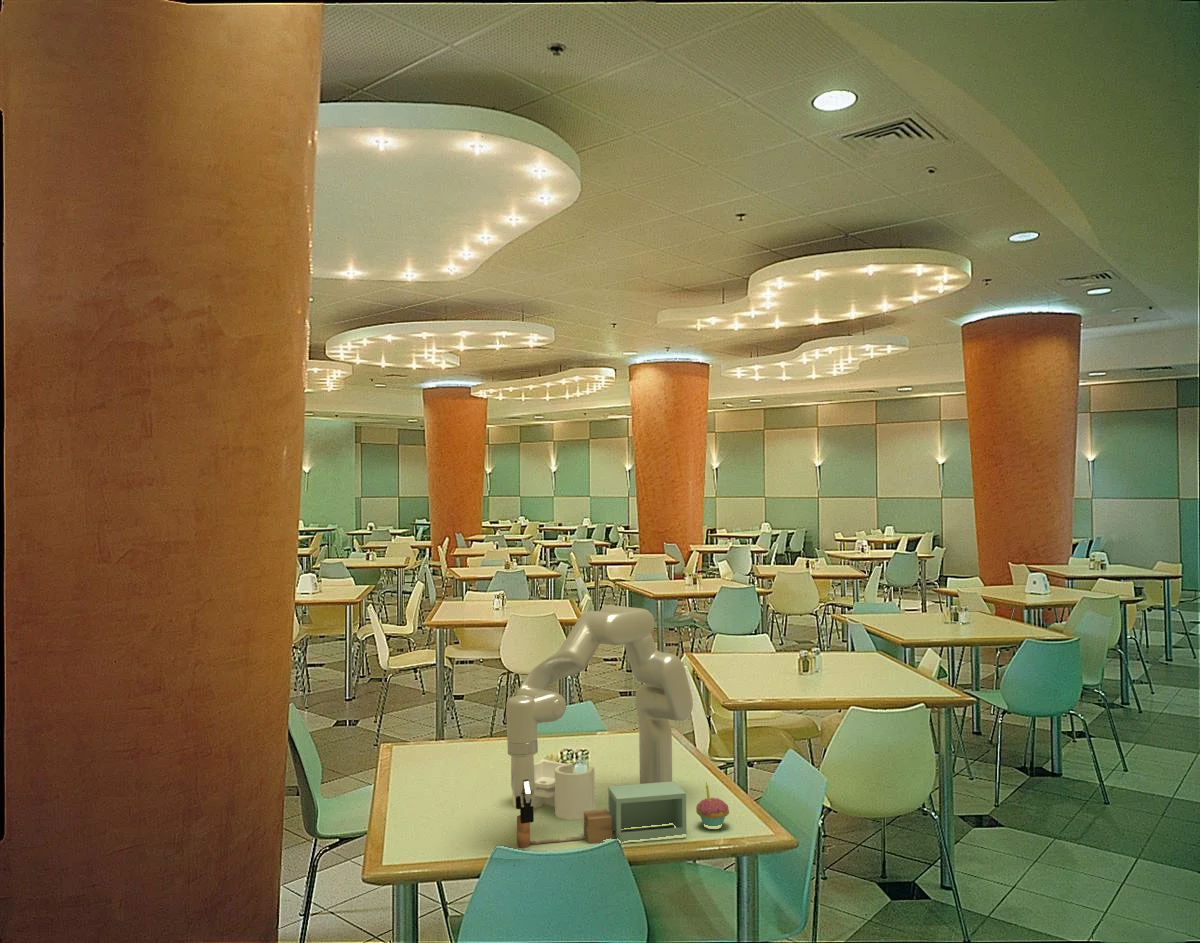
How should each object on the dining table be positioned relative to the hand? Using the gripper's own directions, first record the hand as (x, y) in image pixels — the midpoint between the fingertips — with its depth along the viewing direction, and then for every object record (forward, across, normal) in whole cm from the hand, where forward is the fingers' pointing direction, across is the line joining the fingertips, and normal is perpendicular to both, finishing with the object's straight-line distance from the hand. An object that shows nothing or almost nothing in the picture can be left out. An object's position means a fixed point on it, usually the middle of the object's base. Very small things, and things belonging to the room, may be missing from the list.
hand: (524, 815), depth 225 cm
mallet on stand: (+7, 0, +10) cm, 12 cm away
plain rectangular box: (+8, +1, +31) cm, 32 cm away
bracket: (+8, -24, +10) cm, 27 cm away
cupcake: (+9, 0, +49) cm, 50 cm away
